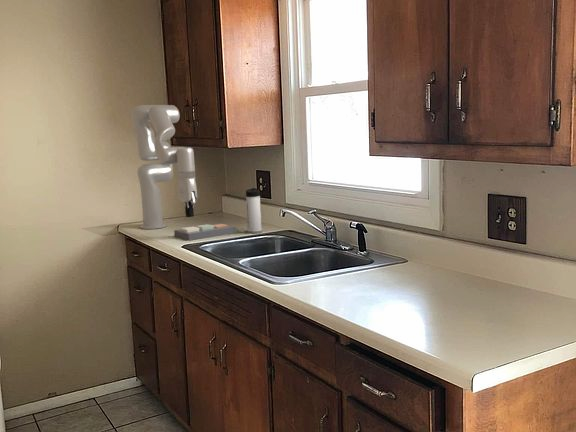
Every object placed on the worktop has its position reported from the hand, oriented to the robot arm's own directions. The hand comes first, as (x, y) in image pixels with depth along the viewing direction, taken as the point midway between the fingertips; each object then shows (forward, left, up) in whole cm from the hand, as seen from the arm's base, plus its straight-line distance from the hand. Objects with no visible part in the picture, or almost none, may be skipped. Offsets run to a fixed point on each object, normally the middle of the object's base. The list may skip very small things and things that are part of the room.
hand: (189, 216), depth 290 cm
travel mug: (+11, +27, -10) cm, 31 cm away
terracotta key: (-1, +15, -8) cm, 17 cm away
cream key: (-1, 0, -8) cm, 8 cm away
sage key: (-1, +8, -8) cm, 11 cm away
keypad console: (-1, +8, -10) cm, 12 cm away
